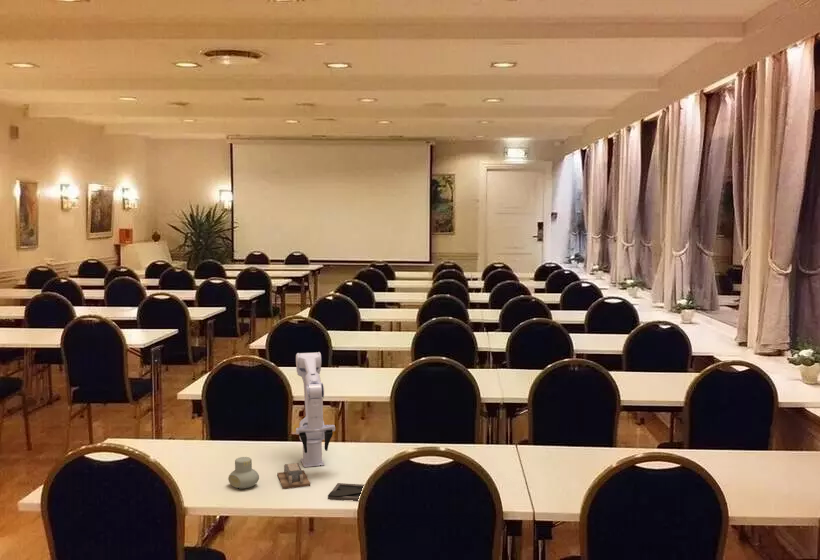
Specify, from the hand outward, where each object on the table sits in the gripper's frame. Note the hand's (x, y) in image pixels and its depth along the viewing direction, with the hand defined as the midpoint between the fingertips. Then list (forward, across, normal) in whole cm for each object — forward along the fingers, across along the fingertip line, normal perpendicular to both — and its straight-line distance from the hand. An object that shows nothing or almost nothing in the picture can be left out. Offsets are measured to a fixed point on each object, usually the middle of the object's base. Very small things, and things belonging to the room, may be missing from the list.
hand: (315, 451), depth 298 cm
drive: (+8, -9, -3) cm, 13 cm away
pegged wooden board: (+9, -9, -3) cm, 13 cm away
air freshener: (+10, -27, -3) cm, 29 cm away
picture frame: (+10, +11, -23) cm, 27 cm away
